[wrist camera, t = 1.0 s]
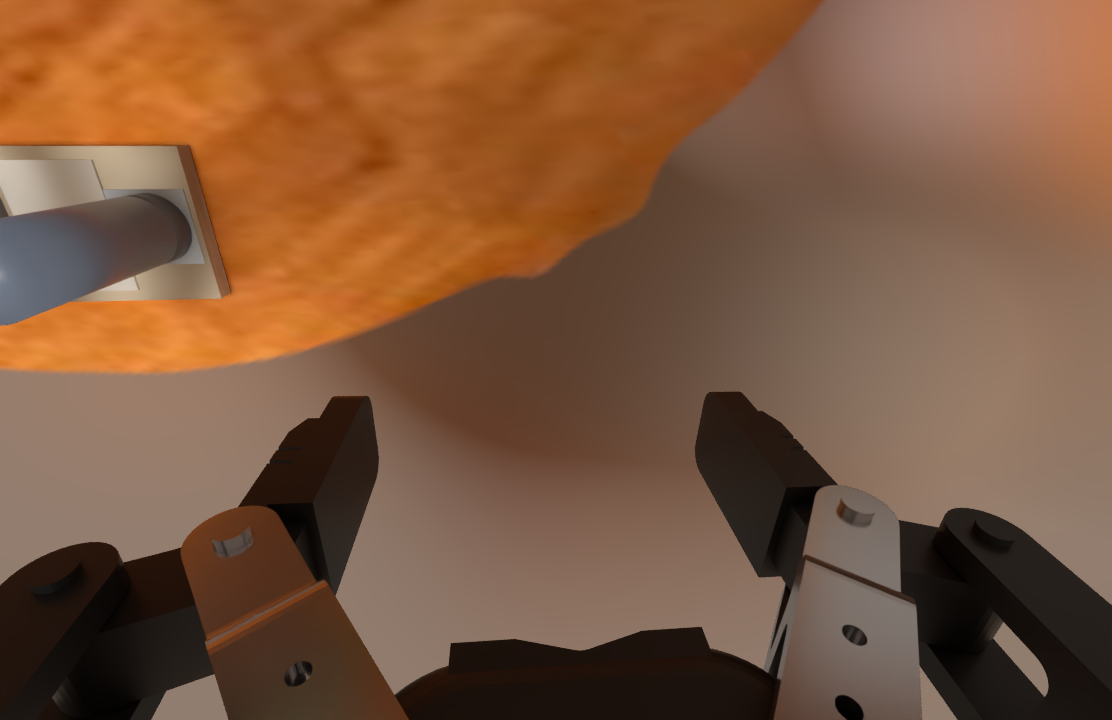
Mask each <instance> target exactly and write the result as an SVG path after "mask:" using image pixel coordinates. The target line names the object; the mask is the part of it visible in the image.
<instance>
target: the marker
mask: <svg viewBox="0 0 1112 720" xmlns="http://www.w3.org/2000/svg"><path fill="white" fill-rule="evenodd" d="M191 242H192V232H191V227H190V225H189V222H188V220H187V219H186V217H185V215H184V214H183V213H182V212H181V210H180V209H179V208H178V207H177V206H175V205H174V204H173V203H171V202H170V201H169V200H167V199H165V198H163V197H161V196H158V195H155V194H150V193H139V194H133V195H127V196H122V197H116V198H111V199H105V200H99V201H94V202H88V203H82V204H77V205H71V206H66V207H60V208H54V209H49V210H43V211H37V212H32V213H26V214H21V215H15V216H9V217H4V218H0V325H9V324H14V323H17V322H19V321H22V320H24V319H27V318H29V317H32V316H34V315H37V314H40V313H42V312H45V311H47V310H50V309H52V308H55V307H57V306H60V305H62V304H65V303H67V302H70V301H72V300H75V299H77V298H80V297H83V296H85V295H88V294H90V293H93V292H95V291H98V290H100V289H103V288H105V287H108V286H110V285H113V284H115V283H118V282H121V281H123V280H126V279H128V278H131V277H133V276H136V275H138V274H141V273H143V272H146V271H148V270H151V269H153V268H156V267H159V266H161V265H164V264H166V263H169V262H171V261H174V260H176V259H179V258H181V257H182V256H183V255H185V254H186V253H187V251H188V250H189V248H190V246H191Z"/></svg>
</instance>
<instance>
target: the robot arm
mask: <svg viewBox="0 0 1112 720" xmlns="http://www.w3.org/2000/svg"><path fill="white" fill-rule="evenodd" d="M695 457H696V463H697V466H698V469H699V471H700V473H701V475H702V477H703V478H704V480H705V482H706V484H707V486H708V487H709V489H710V491H711V493H712V495H713V496H714V498H715V500H716V502H717V504H718V505H719V507H720V509H721V511H722V512H723V514H724V516H725V518H726V520H727V521H728V523H729V525H730V527H731V529H732V530H733V532H734V534H735V536H736V537H737V539H738V541H739V543H740V545H741V546H742V548H743V550H744V552H745V554H746V555H747V557H748V559H749V561H750V562H751V564H752V566H753V568H754V570H755V572H756V573H757V575H758V577H776V576H781V577H782V579H783V580H784V582H785V586H784V589H783V591H782V594H781V598H780V602H779V606H778V611H777V615H776V619H775V623H774V627H773V632H772V636H771V640H770V644H769V648H768V652H767V657H766V661H765V665H764V668H763V669H761V668H759V667H757V666H756V665H754V664H752V663H750V662H748V661H746V660H743V659H741V658H739V657H737V656H734V655H732V654H728V653H725V652H722V651H718V650H715V649H710V647H709V645H708V642H707V640H706V637H705V634H704V632H703V629H702V627H694V628H677V629H663V630H647V631H640V632H637V633H635V634H632V635H629V636H626V637H623V638H620V639H617V640H614V641H611V642H608V643H605V644H603V645H599V646H597V647H594V648H591V649H588V650H582V651H578V650H571V649H566V648H560V647H555V646H549V645H544V644H538V643H533V642H528V641H522V640H517V639H509V640H495V641H494V640H493V641H478V642H464V643H451V647H450V657H449V666H446V667H443V668H440V669H437V670H435V671H433V672H431V673H428V674H427V675H424V676H422V677H420V678H419V679H417V680H415V681H414V682H412V683H410V684H409V685H407V686H406V687H404V688H403V689H402V690H401V691H399V692H398V693H397V694H395V695H394V694H393V692H392V690H391V689H390V687H389V685H388V684H387V682H386V680H385V679H384V677H383V675H382V674H381V672H380V670H379V669H378V667H377V665H376V664H375V662H374V660H373V659H372V657H371V655H370V654H369V652H368V650H367V648H366V647H365V645H364V644H363V642H362V640H361V638H360V637H359V635H358V633H357V632H356V630H355V629H354V627H353V625H352V623H351V622H350V620H349V618H348V617H347V615H346V613H345V612H344V610H343V608H342V607H341V605H340V603H339V602H338V600H337V598H336V597H335V596H336V593H337V590H338V587H339V584H340V582H341V579H342V576H343V573H344V570H345V567H346V564H347V561H348V558H349V556H350V553H351V550H352V547H353V544H354V541H355V538H356V536H357V532H358V529H359V527H360V524H361V521H362V518H363V515H364V513H365V510H366V507H367V504H368V501H369V498H370V495H371V492H372V490H373V487H374V484H375V481H376V478H377V473H378V463H379V456H378V446H377V440H376V432H375V425H374V418H373V411H372V405H371V401H370V398H369V397H368V396H335V397H332V398H331V400H330V401H329V403H328V405H327V407H326V408H325V410H324V411H323V413H322V415H321V416H320V418H309V419H307V420H305V421H304V422H302V423H301V424H299V425H298V426H297V427H295V428H294V429H293V430H291V431H290V432H289V433H288V434H287V436H286V437H285V439H284V440H283V441H282V443H281V445H280V446H279V450H277V451H276V452H275V453H274V455H273V456H272V458H271V459H270V464H267V465H266V467H265V468H264V470H263V471H262V472H261V474H260V475H259V477H258V479H257V480H256V481H255V483H254V484H253V486H252V487H251V489H250V490H249V492H248V493H247V495H246V496H245V498H244V499H243V500H242V502H241V503H240V505H239V506H238V508H234V509H230V510H227V511H224V512H222V513H219V514H217V515H215V516H213V517H212V518H209V519H208V520H206V521H205V522H203V523H202V524H200V525H199V526H198V527H196V528H195V529H194V530H193V531H192V532H191V533H190V534H189V535H188V536H187V538H186V540H185V541H184V543H183V545H182V547H181V548H178V549H175V550H171V551H167V552H163V553H159V554H156V555H152V556H148V557H144V558H140V559H136V560H132V561H128V562H124V563H123V561H122V559H121V557H120V555H119V553H118V551H117V549H116V548H115V547H113V546H112V545H110V544H107V543H101V542H89V543H81V544H77V545H72V546H68V547H65V548H62V549H59V550H56V551H54V552H51V553H49V554H47V555H44V556H42V557H40V558H38V559H36V560H34V561H33V562H31V563H29V564H27V565H26V566H24V567H23V568H21V569H19V570H18V571H17V572H16V573H14V574H13V575H11V576H10V577H9V578H8V579H7V580H6V581H5V582H4V583H2V584H1V585H0V720H151V719H152V717H153V715H154V713H155V711H156V709H157V708H158V705H159V704H160V702H161V700H162V698H163V696H164V694H165V692H166V691H167V690H170V689H173V688H175V687H178V686H181V685H184V684H187V683H190V682H192V681H195V680H198V679H201V678H204V677H207V676H210V675H213V674H215V677H216V680H217V683H218V687H219V690H220V693H221V697H222V700H223V703H224V706H225V710H226V712H227V716H228V719H229V720H922V707H921V689H920V688H921V687H920V670H919V669H920V668H919V665H920V667H921V668H922V670H923V671H924V672H925V674H926V675H927V677H928V678H929V680H930V681H931V683H932V684H933V685H934V687H935V688H936V690H937V691H938V692H939V694H940V695H941V697H942V698H943V699H944V701H945V702H946V704H947V705H948V707H949V708H950V710H951V711H952V712H953V714H954V715H955V716H956V718H957V719H958V720H1112V605H1111V604H1109V603H1108V602H1107V601H1106V600H1105V599H1104V598H1102V597H1101V596H1100V595H1099V594H1098V593H1097V592H1095V591H1094V590H1093V589H1092V588H1091V587H1089V586H1088V585H1087V584H1086V583H1085V582H1083V581H1082V580H1081V579H1080V578H1079V577H1077V576H1076V575H1075V574H1074V573H1073V572H1072V571H1071V570H1069V569H1068V568H1067V567H1065V565H1063V564H1062V563H1061V562H1060V561H1059V560H1057V559H1056V558H1055V557H1054V556H1053V555H1052V554H1050V553H1049V552H1048V551H1047V550H1046V549H1044V548H1043V547H1042V546H1041V545H1040V544H1038V543H1037V542H1036V541H1035V540H1034V539H1033V538H1031V537H1030V536H1029V535H1028V534H1026V533H1025V532H1024V531H1023V530H1021V529H1020V528H1018V527H1016V526H1015V525H1013V524H1011V523H1009V522H1008V521H1006V520H1004V519H1002V518H1000V517H997V516H995V515H992V514H989V513H986V512H983V511H979V510H975V509H969V508H955V509H951V510H949V511H948V512H947V513H946V514H945V516H944V518H943V520H942V522H941V524H940V526H939V528H938V527H932V526H927V525H922V524H917V523H912V522H906V521H901V520H898V518H897V516H896V515H895V513H894V512H893V511H892V510H891V509H890V508H889V507H888V506H887V505H886V504H885V503H883V502H882V501H881V500H879V499H877V498H876V497H874V496H872V495H870V494H868V493H866V492H864V491H861V490H859V489H855V488H852V487H848V486H841V485H837V483H836V482H835V481H834V480H833V479H832V478H831V477H830V476H829V475H828V474H827V472H826V471H825V470H824V469H823V468H822V467H821V466H820V465H819V464H818V463H817V462H816V460H815V459H814V458H813V457H812V456H811V455H810V454H809V453H808V452H807V451H806V450H804V449H803V446H802V445H801V444H800V443H799V442H798V441H797V440H796V439H793V435H792V434H791V433H790V432H789V431H788V430H787V429H786V428H785V426H783V424H782V423H781V422H779V421H777V420H776V419H774V418H773V417H771V416H769V415H768V414H766V413H765V412H763V411H757V409H756V408H755V407H754V406H753V405H752V404H751V402H750V401H749V400H748V399H747V398H746V397H745V396H744V395H743V394H742V393H741V392H709V393H708V394H707V395H706V397H705V400H704V404H703V409H702V414H701V419H700V425H699V430H698V434H697V440H696V445H695ZM1003 622H1004V623H1005V624H1006V625H1007V626H1008V627H1009V628H1010V629H1011V630H1012V631H1013V632H1014V633H1015V635H1016V636H1017V637H1019V639H1020V640H1021V641H1022V642H1023V643H1024V644H1025V645H1026V646H1027V647H1028V648H1029V650H1030V651H1031V652H1032V653H1033V654H1034V655H1035V656H1036V657H1037V659H1038V660H1039V661H1040V663H1041V664H1042V666H1043V668H1044V670H1045V672H1046V675H1047V678H1048V684H1049V688H1048V693H1047V695H1046V696H1045V697H1044V696H1043V695H1042V694H1041V693H1040V691H1039V690H1038V689H1037V688H1036V687H1035V686H1034V685H1033V684H1032V682H1031V681H1030V680H1029V679H1028V678H1027V677H1026V675H1025V674H1024V673H1023V672H1022V671H1021V670H1020V669H1019V668H1018V666H1017V665H1016V664H1015V663H1014V662H1013V661H1012V660H1011V658H1010V657H1009V656H1008V655H1007V654H1006V653H1005V652H1004V650H1003V649H1002V648H1001V647H1000V646H999V645H998V644H997V643H996V642H995V640H994V639H993V637H994V636H995V634H996V633H997V631H998V630H999V628H1000V626H1001V625H1002V623H1003Z"/></svg>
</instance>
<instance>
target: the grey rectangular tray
mask: <svg viewBox="0 0 1112 720" xmlns="http://www.w3.org/2000/svg"><path fill="white" fill-rule="evenodd" d="M139 193H150V194H155V195H158V196H161V197H163V198H165V199H167V200H169V201H170V202H171V203H173V204H174V205H175V206H177V207H178V208H179V209H180V210H181V212H182V213H183V214H184V215H185V217H186V219H187V220H188V222H189V225H190V227H191V232H192V242H191V246H190V248H189V250H188V251H187V253H186V254H185V255H183V256H182V257H181V258H179V259H176V260H174V261H171V262H169V263H166V264H164V265H161V266H159V267H156V268H153V269H151V270H148V271H146V272H143V273H141V274H138V275H136V276H133V277H131V278H128V279H126V280H123V281H121V282H118V283H115V284H113V285H110V286H108V287H105V288H103V289H100V290H98V291H95V292H93V293H90V294H88V295H85V296H83V297H80V298H77V299H75V300H72V301H70V302H82V301H129V300H176V299H221V298H223V297H225V296H227V295H228V294H230V293H231V291H230V288H229V284H228V281H227V277H226V274H225V270H224V267H223V263H222V260H221V256H220V253H219V249H218V246H217V242H216V239H215V235H214V232H213V228H212V225H211V221H210V218H209V214H208V211H207V207H206V204H205V200H204V197H203V193H202V190H201V186H200V183H199V179H198V176H197V172H196V169H195V165H194V162H193V158H192V155H191V151H190V148H189V146H179V145H0V218H4V217H9V216H15V215H21V214H26V213H32V212H37V211H43V210H49V209H54V208H60V207H66V206H71V205H77V204H82V203H88V202H94V201H99V200H105V199H111V198H116V197H122V196H127V195H133V194H139Z"/></svg>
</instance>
